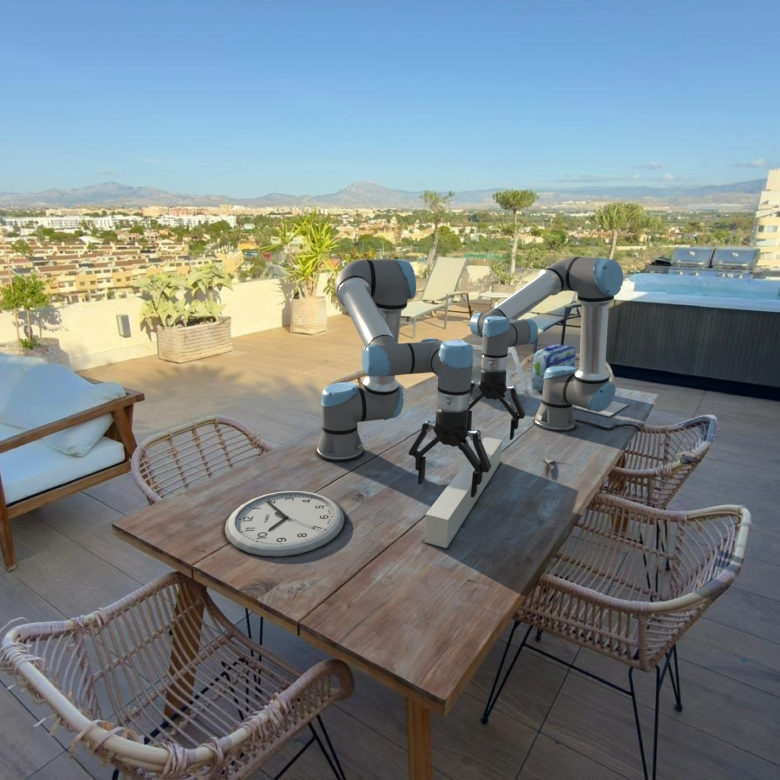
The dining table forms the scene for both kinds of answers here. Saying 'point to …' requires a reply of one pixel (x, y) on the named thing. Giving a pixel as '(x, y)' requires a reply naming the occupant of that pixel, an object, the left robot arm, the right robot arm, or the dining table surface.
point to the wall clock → (284, 523)
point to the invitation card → (607, 409)
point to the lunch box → (550, 362)
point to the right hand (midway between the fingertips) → (489, 434)
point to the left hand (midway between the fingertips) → (446, 488)
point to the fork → (548, 462)
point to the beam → (458, 498)
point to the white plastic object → (511, 355)
